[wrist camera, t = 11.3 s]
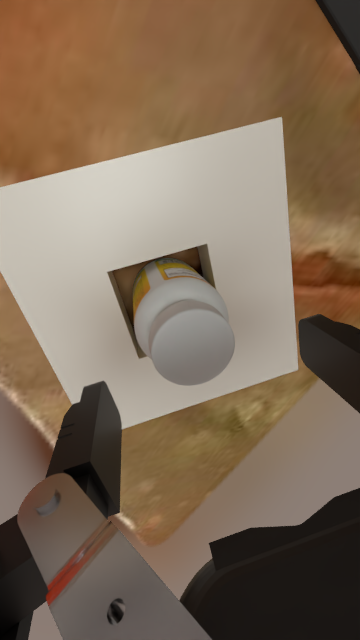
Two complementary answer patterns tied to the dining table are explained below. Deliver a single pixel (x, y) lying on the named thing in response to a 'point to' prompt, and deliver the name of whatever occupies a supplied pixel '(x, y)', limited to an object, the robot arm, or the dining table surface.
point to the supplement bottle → (181, 322)
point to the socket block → (149, 243)
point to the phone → (345, 24)
